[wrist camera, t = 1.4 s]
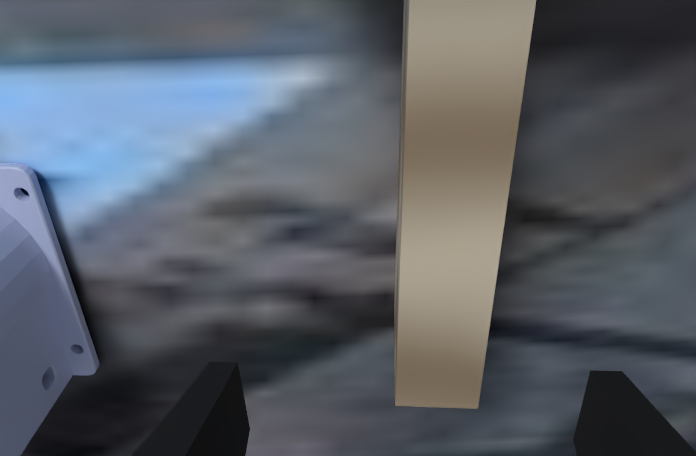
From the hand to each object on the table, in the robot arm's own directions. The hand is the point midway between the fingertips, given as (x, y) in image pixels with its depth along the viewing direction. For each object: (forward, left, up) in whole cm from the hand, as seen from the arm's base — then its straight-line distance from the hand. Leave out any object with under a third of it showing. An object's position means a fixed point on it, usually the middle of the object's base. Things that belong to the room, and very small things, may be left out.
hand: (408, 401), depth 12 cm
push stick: (+4, -1, -9) cm, 10 cm away
